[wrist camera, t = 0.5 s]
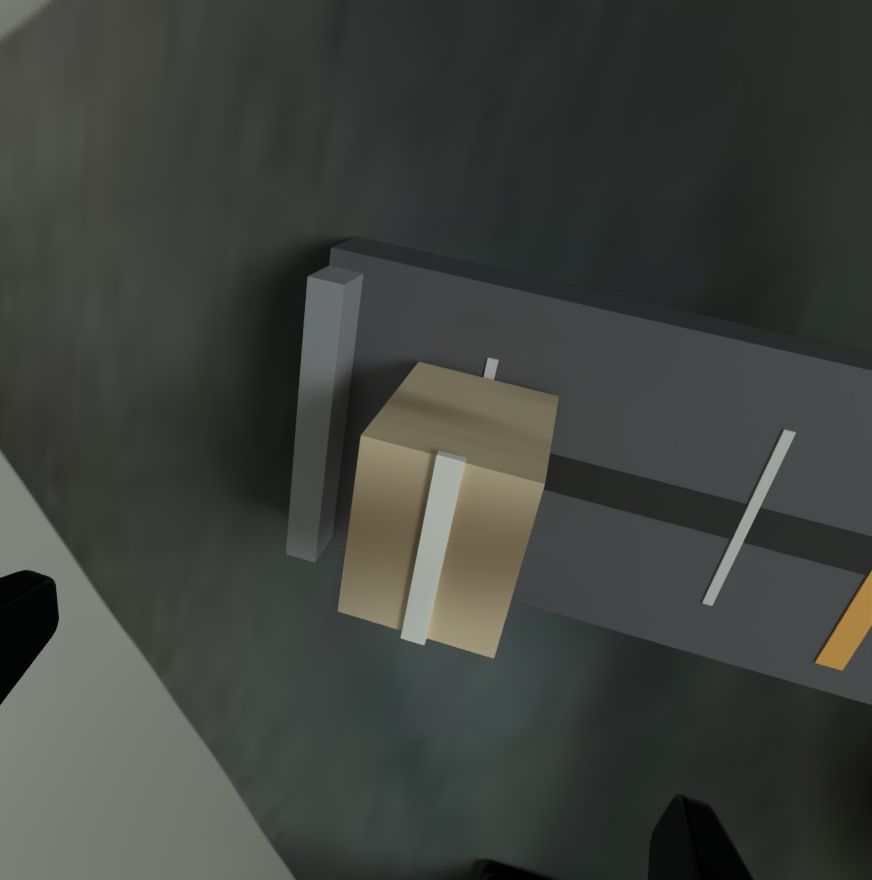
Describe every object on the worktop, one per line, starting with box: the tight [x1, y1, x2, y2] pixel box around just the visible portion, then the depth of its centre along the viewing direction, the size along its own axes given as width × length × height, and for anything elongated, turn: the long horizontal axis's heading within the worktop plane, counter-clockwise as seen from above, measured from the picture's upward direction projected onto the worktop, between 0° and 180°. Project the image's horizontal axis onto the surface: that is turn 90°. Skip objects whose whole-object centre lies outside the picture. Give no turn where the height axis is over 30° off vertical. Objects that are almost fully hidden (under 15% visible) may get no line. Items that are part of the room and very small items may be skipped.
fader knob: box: [338, 362, 559, 658], centre depth 17 cm, size 5×4×5 cm
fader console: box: [286, 237, 872, 705], centre depth 19 cm, size 10×26×4 cm, turn 80°
